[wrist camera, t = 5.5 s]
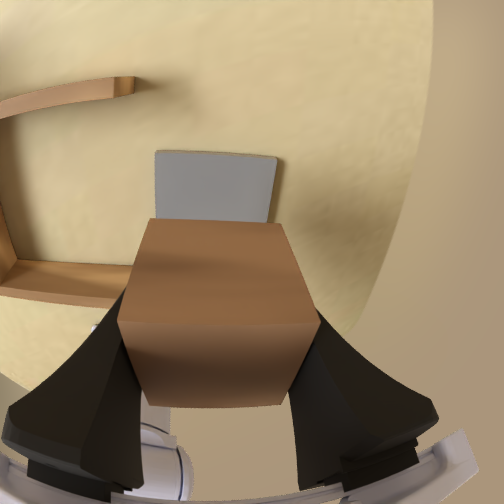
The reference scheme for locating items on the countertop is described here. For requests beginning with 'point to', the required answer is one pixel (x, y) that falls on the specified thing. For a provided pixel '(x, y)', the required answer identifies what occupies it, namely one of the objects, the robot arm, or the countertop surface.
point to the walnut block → (216, 314)
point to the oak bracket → (61, 273)
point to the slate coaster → (213, 185)
